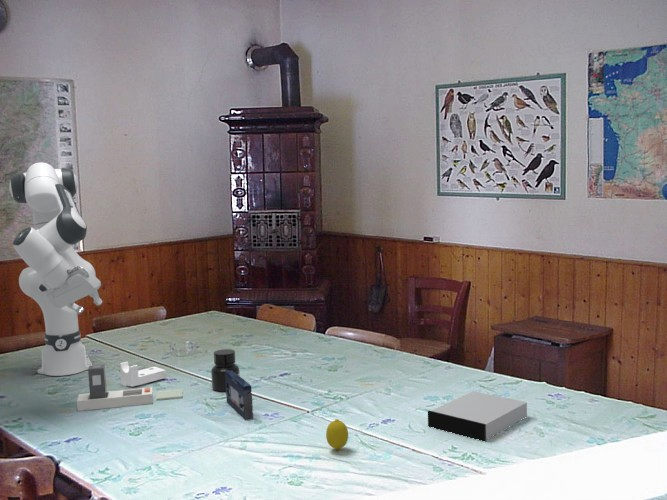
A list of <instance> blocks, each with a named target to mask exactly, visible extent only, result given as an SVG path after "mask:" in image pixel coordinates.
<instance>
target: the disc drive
mask: <svg viewBox="0 0 667 500" xmlns="http://www.w3.org/2000/svg"><path fill="white" fill-rule="evenodd" d="M525 417H527V418H528V403H527V401H522V400H517V399H512V398H507V397H502V396H498V395H494V394H490V393H485V392H481V391H475V390H474V391H470V392H469V393H466V394H463V395H462V396H460V397H457V398H456V399H453V400H451V401H449V402H447V403H445V404H443V405H440V406H438V407H437V408H434V409H432V410H427V427H428V426H429V427H428V428H431V427H434V428H436V429H435V430H438V429H440V430H439V431H442V430H444V431H443V432H446V431H447V432H446V433H449V432H452V433H451V434H453V433H455V434H454V435H457V434H459V435H458V436H461V435H463V436H462V437H464V436H467V437H466V438H468V437H470V438H469V439H472V438H474V439H473V440H476V439H479V440H482V441H481V442H483V441H485V442H486V441H487V440H486V439H488V438H490V437H491V436H493V435H495V434H497V433H498V434H500V433H502V432H504V431H505V430H504V429H506V428H507V429H509V428H510V427H509V426H511V425H513V424H514V425H516V424H517V423H516V422H518V421H520V420H521V419H523V418H525ZM525 419H526V418H525ZM523 420H524V419H523ZM520 422H521V421H520ZM515 423H516V424H515ZM518 423H519V422H518ZM514 425H513V426H514ZM508 427H509V428H508ZM511 427H512V426H511ZM434 428H433V429H434ZM507 429H506V430H507ZM503 430H504V431H503ZM501 431H502V432H501ZM499 432H500V433H499ZM498 434H497V435H498ZM495 436H496V435H495ZM493 437H494V436H493ZM491 438H492V437H491ZM491 438H490V439H491ZM479 440H478V441H479ZM488 440H489V439H488Z"/></svg>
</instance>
